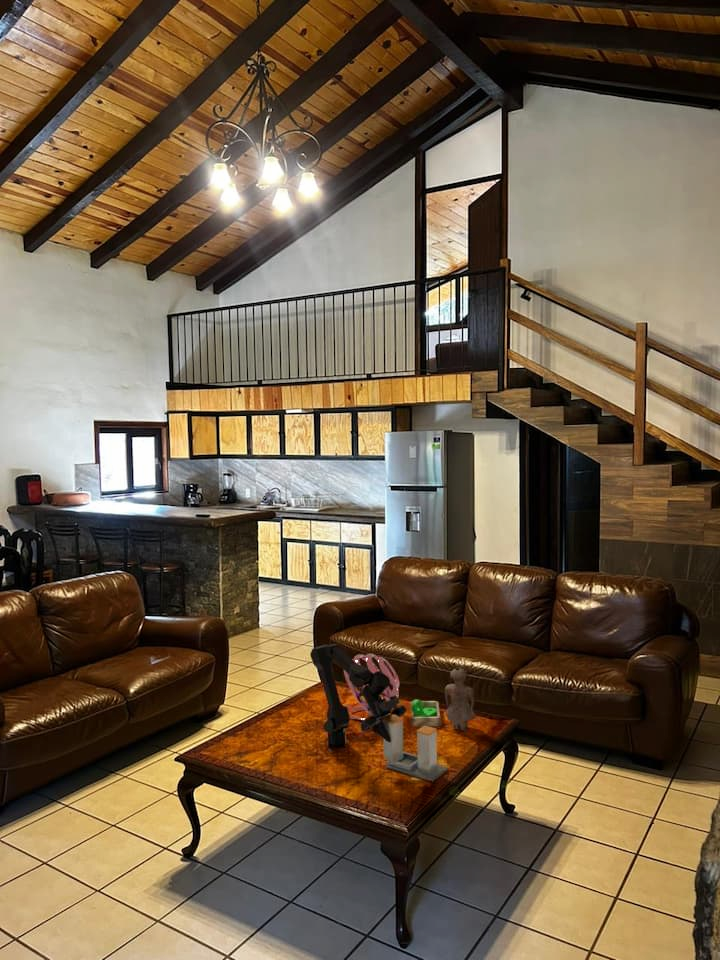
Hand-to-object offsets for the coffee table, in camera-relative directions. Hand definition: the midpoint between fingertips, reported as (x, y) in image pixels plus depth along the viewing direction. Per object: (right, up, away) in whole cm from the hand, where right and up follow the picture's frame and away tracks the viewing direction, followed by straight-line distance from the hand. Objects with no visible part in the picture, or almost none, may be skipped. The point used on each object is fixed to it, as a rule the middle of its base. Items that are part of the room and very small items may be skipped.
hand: (395, 739), depth 252 cm
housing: (+8, -13, +5) cm, 16 cm away
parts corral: (+15, -9, +51) cm, 54 cm away
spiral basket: (-7, -10, +55) cm, 56 cm away
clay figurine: (+29, -10, +39) cm, 50 cm away
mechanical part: (+16, -10, +53) cm, 56 cm away
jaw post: (-1, -7, +2) cm, 7 cm away
